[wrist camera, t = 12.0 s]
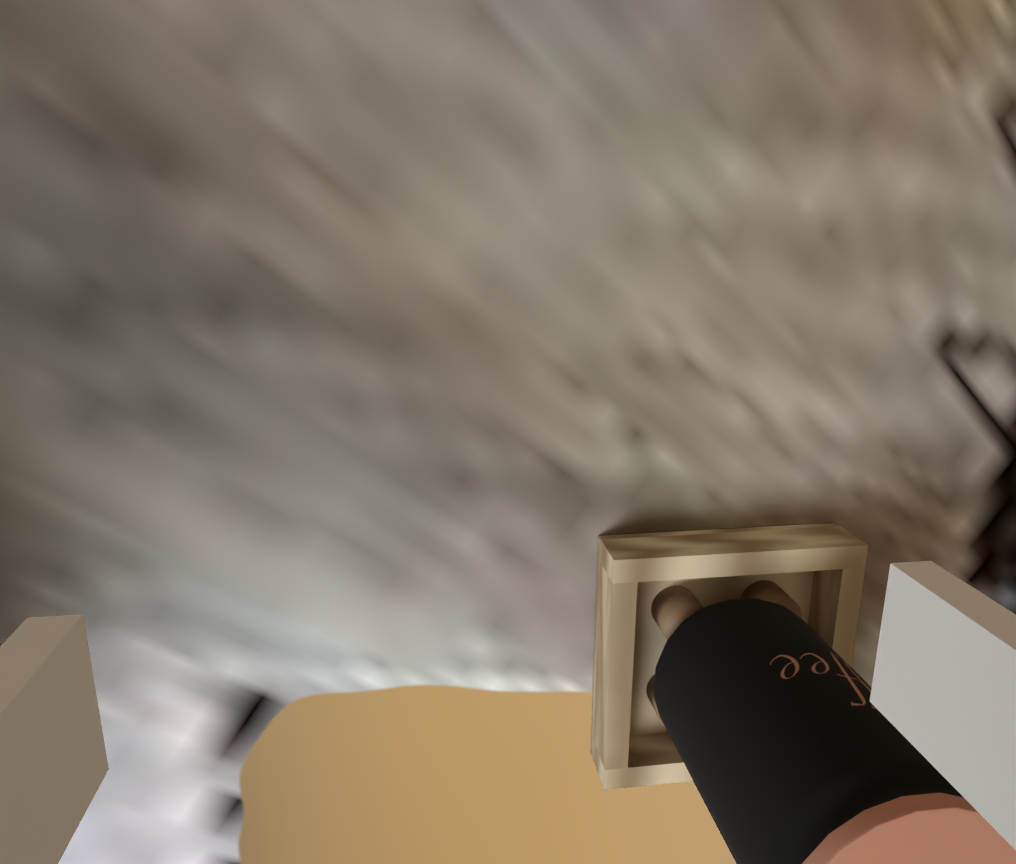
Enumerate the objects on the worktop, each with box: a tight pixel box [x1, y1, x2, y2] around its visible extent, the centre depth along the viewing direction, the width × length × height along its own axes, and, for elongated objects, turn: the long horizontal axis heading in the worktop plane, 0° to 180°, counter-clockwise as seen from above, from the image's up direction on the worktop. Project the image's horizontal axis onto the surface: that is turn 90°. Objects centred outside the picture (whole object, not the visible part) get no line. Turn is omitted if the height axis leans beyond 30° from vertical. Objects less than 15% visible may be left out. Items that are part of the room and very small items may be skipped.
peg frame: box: [590, 523, 869, 790], centre depth 49 cm, size 16×16×4 cm
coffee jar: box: [653, 598, 1016, 864], centre depth 39 cm, size 11×11×18 cm
